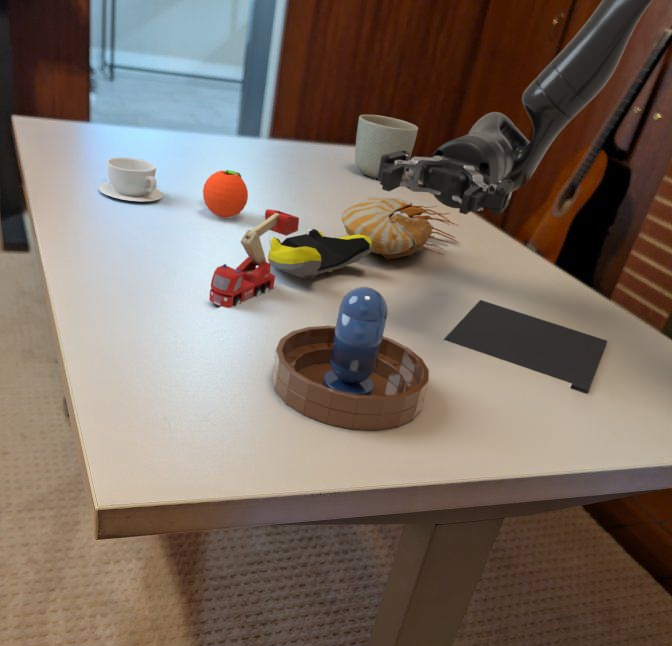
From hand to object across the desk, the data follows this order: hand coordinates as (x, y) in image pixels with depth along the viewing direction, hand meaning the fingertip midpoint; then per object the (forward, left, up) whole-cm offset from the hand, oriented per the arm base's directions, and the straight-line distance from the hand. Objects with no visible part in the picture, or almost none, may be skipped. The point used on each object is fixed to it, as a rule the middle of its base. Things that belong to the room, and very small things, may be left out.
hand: (425, 192), depth 76 cm
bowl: (0, +12, -18) cm, 22 cm away
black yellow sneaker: (+18, -17, -19) cm, 31 cm away
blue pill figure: (0, +12, -18) cm, 21 cm away
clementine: (+39, -28, -19) cm, 52 cm away
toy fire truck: (+20, -3, -19) cm, 27 cm away
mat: (-13, -17, -18) cm, 28 cm away
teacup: (+54, -24, -19) cm, 62 cm away
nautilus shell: (+12, -36, -19) cm, 42 cm away
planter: (+34, -82, -19) cm, 90 cm away
